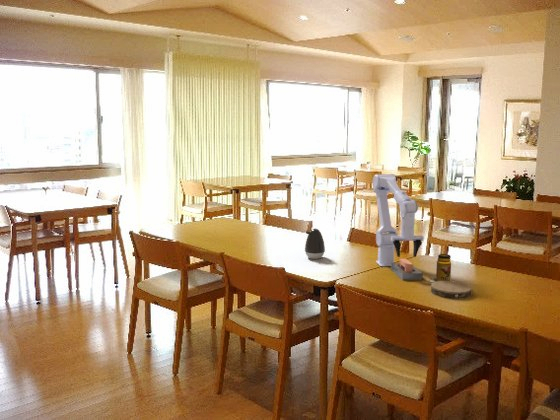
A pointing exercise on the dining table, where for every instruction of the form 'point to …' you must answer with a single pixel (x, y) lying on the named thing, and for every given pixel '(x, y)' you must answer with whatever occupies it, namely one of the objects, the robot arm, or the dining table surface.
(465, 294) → the gray brown round disc
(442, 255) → the condiment
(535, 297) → the dining table surface
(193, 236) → the dining table surface
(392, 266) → the gray block with cutout
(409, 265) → the tall salmon pink prism
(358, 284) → the dining table surface
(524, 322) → the dining table surface
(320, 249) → the pump dispenser
